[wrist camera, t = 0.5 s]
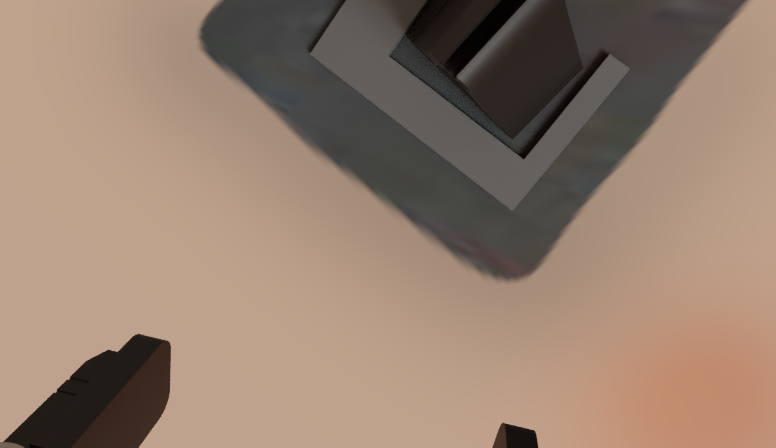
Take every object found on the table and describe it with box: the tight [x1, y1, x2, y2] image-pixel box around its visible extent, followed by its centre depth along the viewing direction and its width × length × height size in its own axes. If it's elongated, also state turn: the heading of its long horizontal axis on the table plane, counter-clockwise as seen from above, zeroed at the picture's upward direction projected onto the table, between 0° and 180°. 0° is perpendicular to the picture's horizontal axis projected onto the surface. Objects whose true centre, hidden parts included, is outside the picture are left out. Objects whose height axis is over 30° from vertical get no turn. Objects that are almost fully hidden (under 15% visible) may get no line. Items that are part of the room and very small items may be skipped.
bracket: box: [310, 0, 630, 211], centre depth 36 cm, size 11×17×1 cm, turn 53°
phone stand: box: [412, 0, 583, 139], centre depth 30 cm, size 9×6×12 cm, turn 46°
